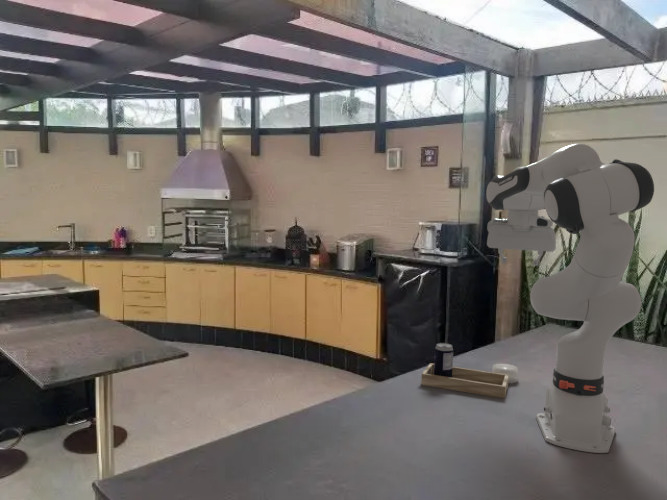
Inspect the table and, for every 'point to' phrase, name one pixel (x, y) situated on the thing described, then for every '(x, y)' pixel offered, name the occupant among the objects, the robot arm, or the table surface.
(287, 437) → the table surface
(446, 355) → the beverage can
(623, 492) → the table surface
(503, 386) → the wooden tray
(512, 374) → the soap bar
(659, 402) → the table surface
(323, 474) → the table surface
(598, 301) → the robot arm
